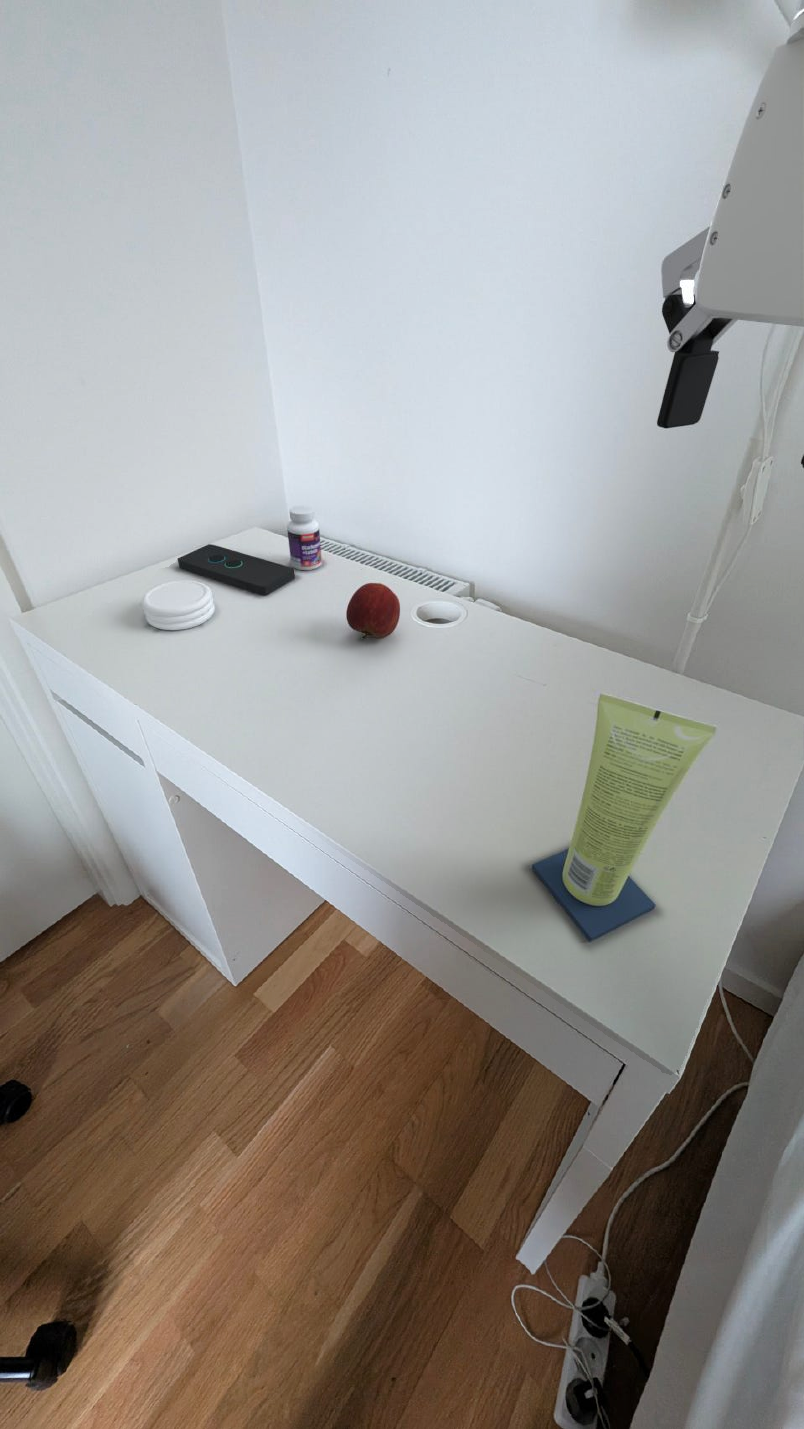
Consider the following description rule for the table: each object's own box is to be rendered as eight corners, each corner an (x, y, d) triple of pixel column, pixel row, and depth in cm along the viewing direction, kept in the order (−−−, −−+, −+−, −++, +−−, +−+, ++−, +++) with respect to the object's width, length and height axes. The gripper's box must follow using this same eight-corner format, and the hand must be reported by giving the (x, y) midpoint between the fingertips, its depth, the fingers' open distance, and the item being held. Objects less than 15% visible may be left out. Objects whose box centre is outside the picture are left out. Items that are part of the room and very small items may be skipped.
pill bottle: (306, 574, 99) (300, 517, 93) (285, 565, 102) (278, 510, 96) (328, 563, 102) (324, 508, 96) (307, 555, 105) (302, 501, 99)
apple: (411, 638, 83) (412, 587, 78) (366, 655, 79) (364, 603, 74) (381, 617, 88) (380, 568, 83) (337, 633, 84) (334, 582, 79)
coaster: (225, 602, 91) (221, 581, 89) (199, 634, 83) (193, 613, 81) (165, 597, 92) (160, 576, 90) (134, 628, 85) (127, 607, 82)
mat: (654, 908, 49) (656, 905, 49) (589, 942, 47) (591, 938, 47) (591, 841, 55) (593, 837, 55) (531, 868, 52) (532, 864, 52)
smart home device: (210, 542, 105) (296, 567, 97) (212, 551, 106) (297, 577, 98) (174, 558, 99) (262, 586, 91) (176, 568, 100) (264, 596, 92)
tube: (607, 853, 53) (672, 680, 41) (638, 900, 49) (719, 725, 37) (550, 865, 52) (599, 691, 40) (577, 914, 48) (641, 739, 36)
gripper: (1267, -86, 18) (942, 477, 29) (772, 44, 30) (672, 408, 41) (1170, -147, 15) (851, 499, 26) (668, 22, 27) (591, 419, 38)
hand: (743, 443), depth 34 cm, fingers open, 9 cm apart
